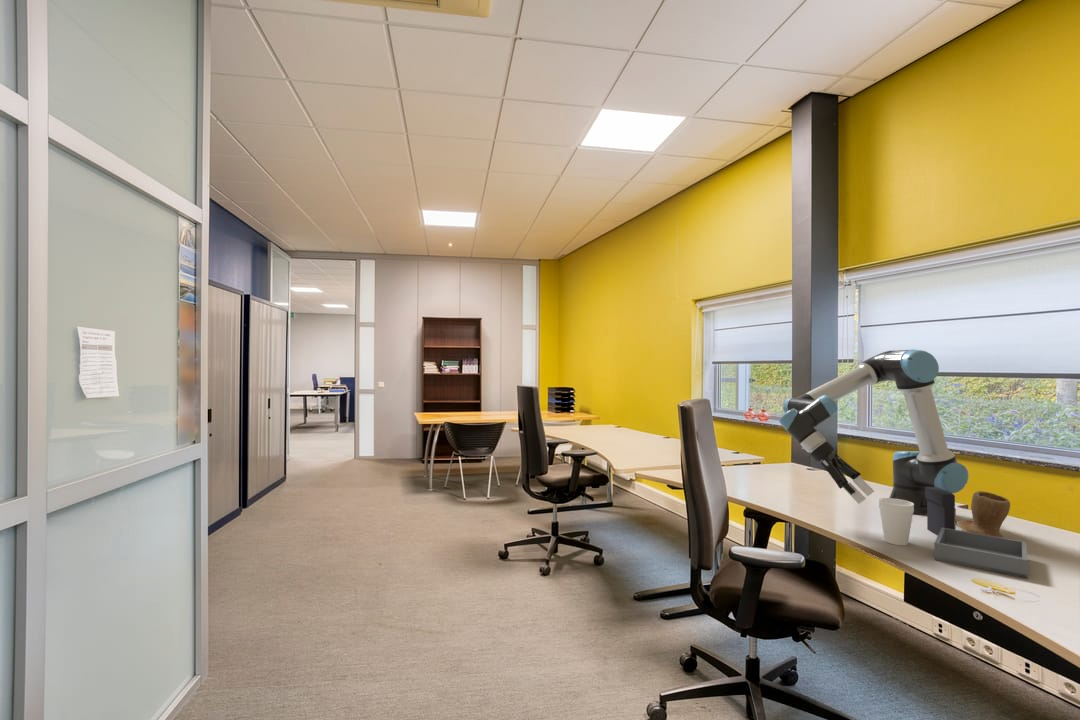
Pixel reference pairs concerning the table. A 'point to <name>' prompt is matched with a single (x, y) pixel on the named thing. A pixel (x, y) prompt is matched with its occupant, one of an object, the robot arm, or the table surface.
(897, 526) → the foam cup
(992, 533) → the brown flared vessel
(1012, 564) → the tray
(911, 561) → the table surface
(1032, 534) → the table surface
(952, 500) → the dark blue upright block
